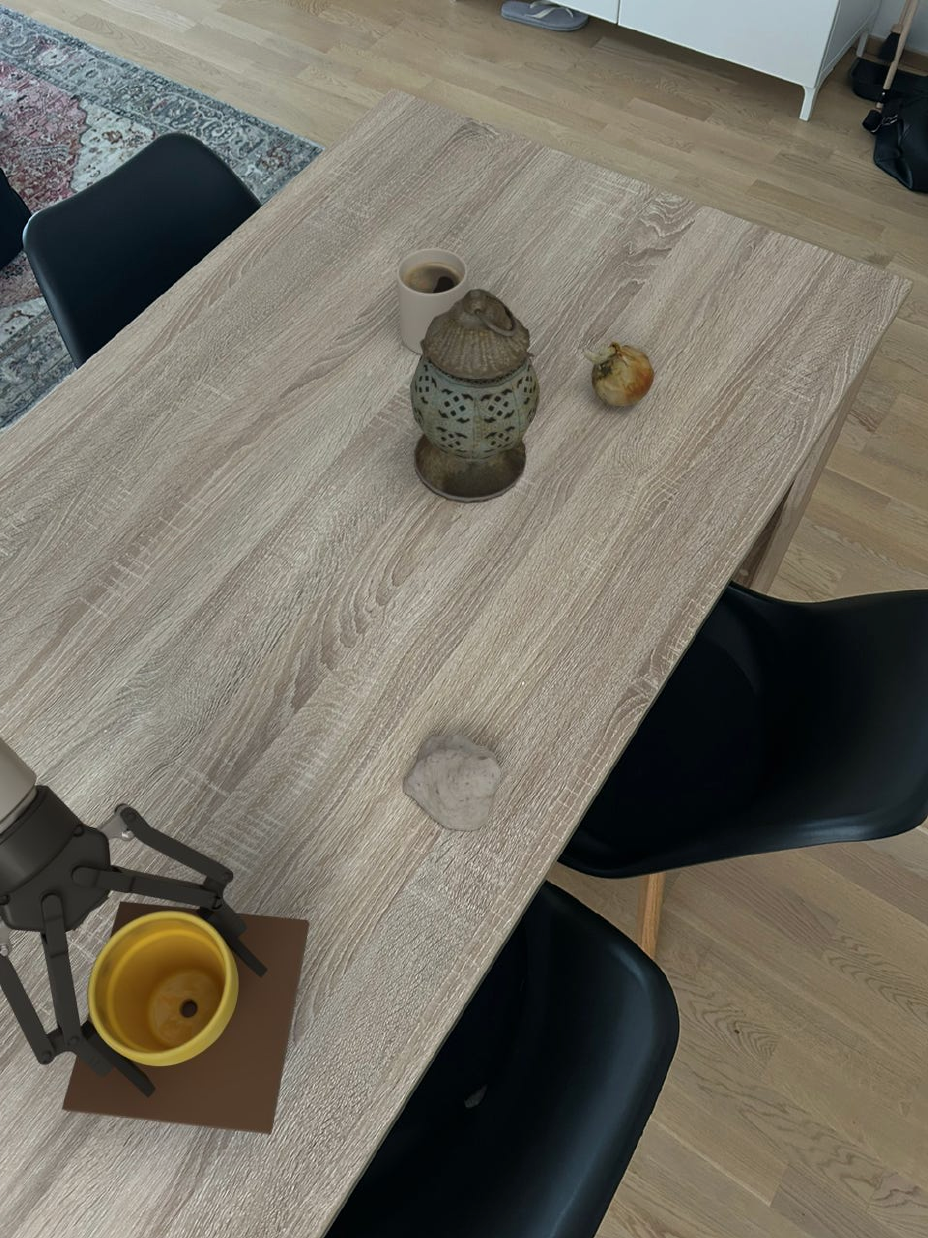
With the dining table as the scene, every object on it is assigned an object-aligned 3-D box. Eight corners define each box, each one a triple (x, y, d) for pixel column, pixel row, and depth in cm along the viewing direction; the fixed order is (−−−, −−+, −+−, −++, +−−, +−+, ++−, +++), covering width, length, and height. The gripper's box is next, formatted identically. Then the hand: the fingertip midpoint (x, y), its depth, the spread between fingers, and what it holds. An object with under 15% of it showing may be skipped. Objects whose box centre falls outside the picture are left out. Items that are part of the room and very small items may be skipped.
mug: (445, 366, 133) (443, 304, 124) (383, 339, 136) (377, 277, 127) (489, 316, 138) (489, 253, 129) (428, 291, 141) (425, 228, 132)
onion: (613, 427, 127) (620, 380, 120) (574, 387, 131) (580, 339, 124) (662, 402, 129) (672, 354, 122) (623, 364, 133) (630, 315, 126)
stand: (98, 1124, 86) (61, 1109, 79) (149, 931, 95) (119, 901, 87) (287, 1146, 85) (268, 1133, 78) (321, 949, 94) (307, 919, 86)
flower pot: (273, 960, 84) (251, 927, 76) (229, 1096, 79) (201, 1076, 71) (154, 931, 86) (119, 895, 77) (103, 1062, 80) (60, 1039, 72)
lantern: (439, 403, 130) (432, 232, 108) (548, 433, 127) (562, 264, 106) (396, 485, 123) (379, 320, 101) (509, 518, 120) (517, 356, 99)
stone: (393, 731, 103) (492, 714, 101) (407, 751, 107) (502, 734, 105) (396, 825, 97) (500, 809, 96) (411, 843, 101) (511, 827, 99)
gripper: (-153, 966, 63) (93, 1180, 70) (142, 709, 72) (332, 922, 79) (-155, 933, 69) (71, 1132, 77) (116, 700, 78) (294, 899, 86)
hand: (204, 1026), depth 78 cm, fingers closed on flower pot, 10 cm apart
